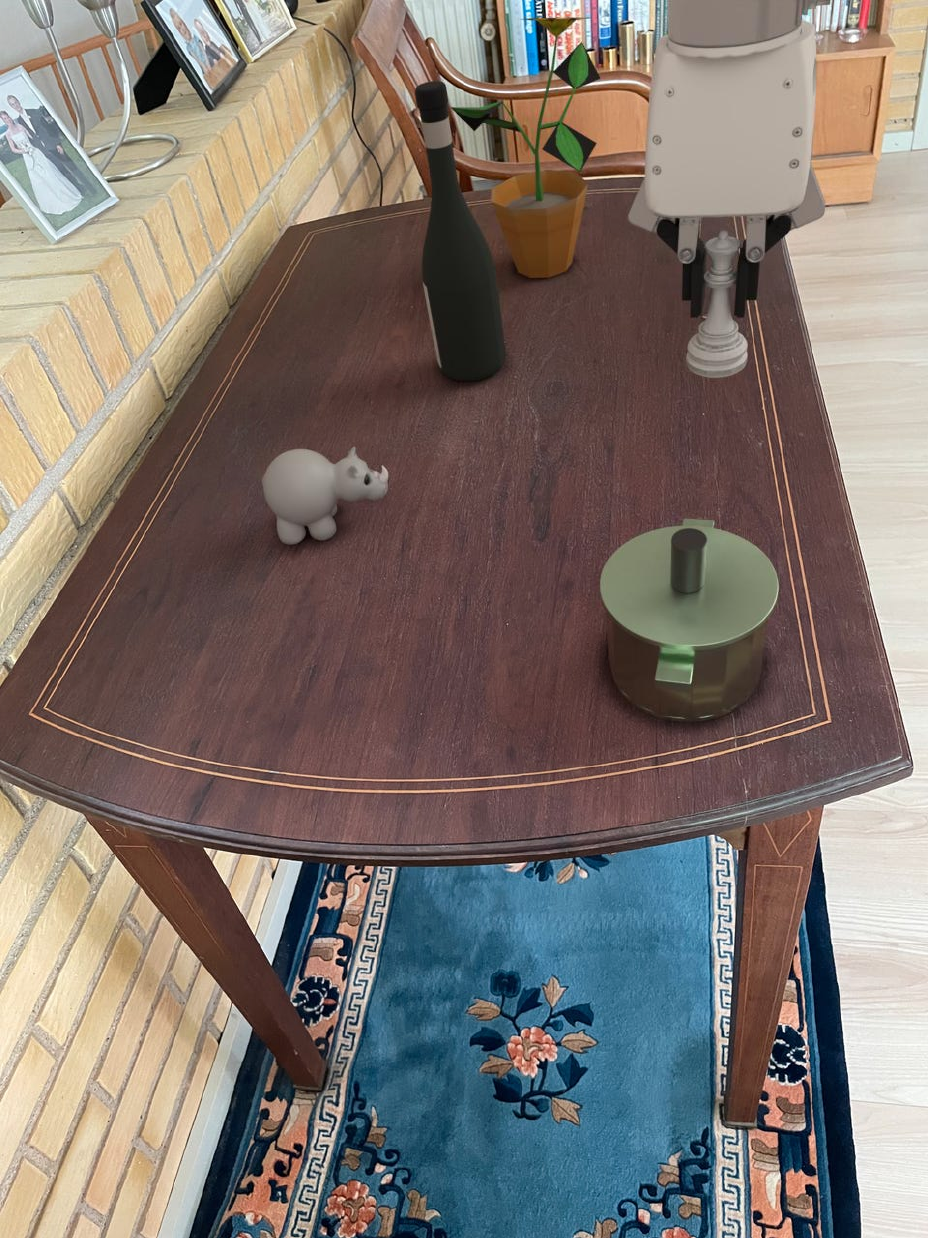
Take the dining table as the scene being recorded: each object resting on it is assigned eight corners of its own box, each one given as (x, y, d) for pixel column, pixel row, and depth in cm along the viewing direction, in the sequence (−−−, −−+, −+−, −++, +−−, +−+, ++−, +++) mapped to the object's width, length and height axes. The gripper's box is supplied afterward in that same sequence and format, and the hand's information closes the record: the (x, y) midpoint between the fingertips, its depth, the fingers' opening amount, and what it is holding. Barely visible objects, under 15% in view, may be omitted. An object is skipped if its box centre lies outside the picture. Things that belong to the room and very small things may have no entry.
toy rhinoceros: (398, 537, 88) (379, 465, 82) (275, 555, 88) (248, 485, 82) (397, 492, 93) (380, 420, 87) (282, 509, 94) (256, 440, 88)
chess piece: (739, 344, 70) (749, 212, 63) (753, 374, 67) (764, 239, 60) (681, 352, 71) (684, 222, 64) (692, 382, 67) (696, 249, 60)
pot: (766, 596, 76) (776, 516, 70) (753, 762, 65) (763, 684, 59) (627, 584, 79) (625, 507, 73) (592, 740, 68) (587, 664, 62)
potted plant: (641, 264, 120) (639, -6, 99) (515, 311, 116) (486, 40, 94) (571, 222, 132) (556, -26, 111) (454, 264, 128) (416, 14, 106)
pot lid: (781, 542, 68) (788, 487, 65) (772, 666, 60) (780, 612, 57) (615, 530, 72) (613, 478, 68) (586, 646, 64) (582, 594, 60)
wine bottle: (426, 377, 108) (371, 97, 86) (464, 344, 112) (420, 69, 91) (482, 391, 104) (439, 101, 83) (520, 356, 108) (488, 72, 87)
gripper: (884, -23, 53) (839, 282, 66) (606, 5, 58) (615, 284, 71) (887, 14, 48) (838, 336, 61) (584, 41, 53) (598, 334, 66)
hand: (719, 306), depth 66 cm, fingers closed on chess piece, 2 cm apart
